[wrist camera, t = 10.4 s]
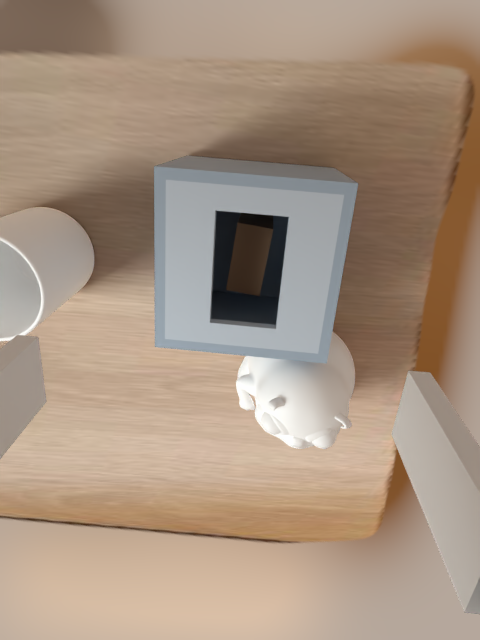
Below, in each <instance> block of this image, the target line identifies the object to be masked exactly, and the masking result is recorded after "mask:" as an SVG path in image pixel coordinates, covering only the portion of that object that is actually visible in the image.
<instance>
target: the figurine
mask: <svg viewBox="0 0 480 640" xmlns="http://www.w3.org/2000/svg"><path fill="white" fill-rule="evenodd" d="M354 385H355V368H354V362H353V359H352V356H351V353H350V351H349V349H348V347H347V346H346V344H345V343H344V342H343V341H342V339H341V338H340V337H339V336H338V335H337V334H335V333H334V332H333V331H332V337H331V342H330V348H329V354H328V359H327V364H325V363H315V362H305V361H294V360H284V359H274V358H263V357H253V356H245V358H244V360H243V362H242V364H241V366H240V368H239V371H238V379H237V381H236V388H237V392H238V395H239V398H240V402H239V405H240V406H241V408H243V409H246V410H250V409H251V410H255V405H254V402H253V400H252V398H251V397H250V394H252V395H253V396H255V401H256V406H257V407H256V410H255V417H256V420H257V421H258V423H259V424H260V425H261V426H262V427H263V429H264V430H265V431H266V432H267V433H269V434H271V435H273V436H275V437H278V438H280V439H281V440H282V441H284V442H285V443H286V444H287V445H289V446H290V447H293V448H297V449H304V448H308V447H311V446H316V447H318V448H322V449H327V448H329V447H330V446H332V445H333V444H334V442H335V440H336V436H337V434H338V433H339V431H340V428H343V429H346V428H350V427H351V426H352V423H351V421H350V420H349V419H348V418H347V417H348V413H349V401H350V399H351V396H352V394H353V390H354ZM249 393H250V394H249ZM342 425H344V426H342Z"/></svg>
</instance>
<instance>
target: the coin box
mask: <svg viewBox="0 0 480 640" xmlns="http://www.w3.org/2000/svg"><path fill="white" fill-rule="evenodd" d="M357 188H358V183H357V182H355V181H354V180H352V179H351V178H349V177H348V176H346V175H344V174H343V173H341V172H340V171H338V170H337V169H335V168H331V167H319V166H307V165H295V164H283V163H271V162H259V161H246V160H234V159H222V158H210V157H198V156H184V157H181V158H178V159H175V160H172V161H169V162H166V163H163V164H160V165H157V166H154V251H155V347H161V348H171V349H181V350H192V351H202V352H212V353H222V354H233V355H243V356H253V357H263V358H274V359H284V360H294V361H305V362H315V363H325V364H327V359H328V354H329V348H330V342H331V337H332V331H333V325H334V319H335V314H336V308H337V302H338V297H339V291H340V285H341V280H342V274H343V268H344V262H345V257H346V251H347V245H348V240H349V234H350V228H351V223H352V217H353V211H354V206H355V200H356V194H357ZM241 213H250V214H262V215H273V233H272V238H271V243H270V248H269V253H268V258H267V263H266V267H265V272H264V277H263V282H262V287H261V292H260V296H256V295H251V294H245V293H240V292H235V291H229V290H226V287H227V281H228V276H229V270H230V264H231V258H232V252H233V246H234V241H235V235H236V229H237V223H238V220H239V217H240V215H241Z"/></svg>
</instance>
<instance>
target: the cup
mask: <svg viewBox="0 0 480 640" xmlns="http://www.w3.org/2000/svg"><path fill="white" fill-rule="evenodd" d="M93 268H94V250H93V246H92V243H91V241H90V238H89V236H88V235H87V233H86V231H85V230H84V229H83V227H82V226H81V225H80V224H79V223H78V222H77V221H76V220H74V219H73V218H72V217H70V216H69V215H67V214H65V213H64V212H61V211H59V210H56V209H53V208H48V207H33V208H28V209H24V210H21V211H18V212H15V213H12V214H9V215H6V216H3V217H0V341H10V340H12V339H13V338H14V337H15V336H16V335H24V336H25V335H27V334H28V333H30V332H31V331H32V330H33V329H34V328H36V327H37V326H38V325H39V324H40V323H42V322H43V321H44V320H45V319H46V318H47V317H49V316H50V315H51V314H52V313H53V312H55V311H56V310H57V309H58V308H59V307H61V306H62V305H63V304H64V303H65V302H66V301H68V300H69V299H70V298H71V297H72V296H74V295H75V294H76V293H77V292H78V291H79V290H81V289H82V288H83V287H84V285H85V284H86V283H87V282H88V280H89V278H90V277H91V274H92V272H93Z"/></svg>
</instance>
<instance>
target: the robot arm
mask: <svg viewBox="0 0 480 640" xmlns="http://www.w3.org/2000/svg"><path fill="white" fill-rule="evenodd" d="M45 403H46V394H45V386H44V378H43V370H42V362H41V354H40V346H39V338H38V337H35V336H24V335H16V336H15V337H14V338H13V339H12V340H10V341H9V342H8V343H7V344H6V345H4V346H3V347H2V348H1V349H0V459H1V458H2V456H3V455H4V454H5V453H6V451H7V450H8V449H9V448H10V446H11V445H12V444H13V443H14V441H15V440H16V439H17V438H18V436H19V435H20V434H21V433H22V431H23V430H24V429H25V428H26V426H27V425H28V424H29V423H30V421H31V420H32V419H33V418H34V416H35V415H36V414H37V413H38V411H39V410H40V409H41V408H42V407H43V405H44V404H45ZM392 437H393V439H394V441H395V444H396V446H397V449H398V451H399V454H400V456H401V459H402V461H403V464H404V466H405V468H406V471H407V473H408V476H409V478H410V481H411V483H412V486H413V488H414V490H415V493H416V495H417V498H418V500H419V503H420V505H421V507H422V510H423V513H424V515H425V517H426V520H427V522H428V525H429V527H430V530H431V532H432V535H433V537H434V539H435V542H436V544H437V547H438V549H439V552H440V554H441V557H442V559H443V562H444V564H445V566H446V569H447V571H448V574H449V576H450V579H451V581H452V583H453V586H454V588H455V591H456V593H457V596H458V598H459V601H460V603H461V606H462V608H463V610H464V612H465V613H474V614H480V446H479V445H478V443H477V442H476V440H475V439H474V437H473V436H472V434H471V433H470V431H469V430H468V429H467V427H466V426H465V424H464V422H463V421H462V419H461V418H460V416H459V415H458V413H457V412H456V410H455V409H454V407H453V406H452V404H451V403H450V401H449V400H448V398H447V397H446V396H445V394H444V393H443V391H442V389H441V388H440V387H439V385H438V383H437V382H436V380H435V379H434V378H433V376H432V375H431V373H428V372H417V371H408V374H407V377H406V381H405V385H404V389H403V393H402V396H401V400H400V404H399V408H398V412H397V415H396V419H395V423H394V427H393V431H392Z"/></svg>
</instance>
